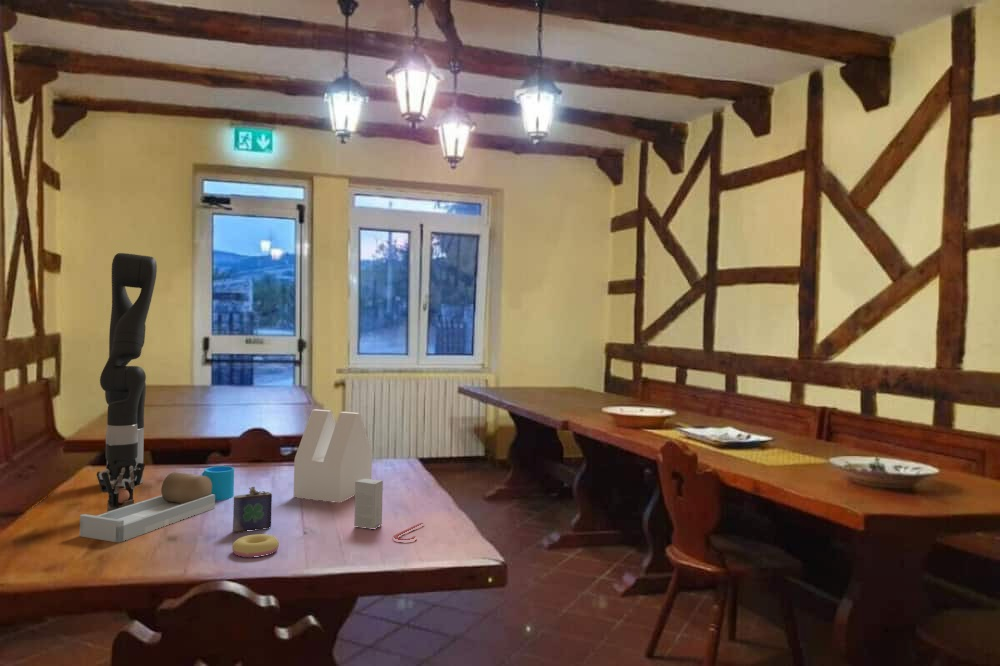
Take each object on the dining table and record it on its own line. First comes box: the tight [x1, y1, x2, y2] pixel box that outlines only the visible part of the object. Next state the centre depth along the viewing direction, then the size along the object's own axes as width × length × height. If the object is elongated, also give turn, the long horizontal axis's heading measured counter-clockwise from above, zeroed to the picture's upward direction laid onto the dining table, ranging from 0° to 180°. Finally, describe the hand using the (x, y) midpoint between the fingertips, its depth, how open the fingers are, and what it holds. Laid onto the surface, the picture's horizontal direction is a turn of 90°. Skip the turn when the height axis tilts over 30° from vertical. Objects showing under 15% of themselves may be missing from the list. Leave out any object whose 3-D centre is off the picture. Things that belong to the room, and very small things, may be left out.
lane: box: [79, 471, 216, 544], centre depth 181 cm, size 12×32×10 cm, turn 162°
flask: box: [232, 486, 273, 533], centre depth 177 cm, size 9×3×11 cm, turn 121°
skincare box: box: [353, 478, 384, 528], centre depth 183 cm, size 6×4×12 cm
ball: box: [118, 487, 130, 504], centre depth 188 cm, size 4×4×4 cm
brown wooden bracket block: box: [106, 499, 135, 513], centre depth 188 cm, size 6×3×3 cm, turn 72°
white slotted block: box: [293, 408, 373, 503], centre depth 215 cm, size 19×15×25 cm
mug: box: [200, 465, 235, 502], centre depth 207 cm, size 12×8×8 cm
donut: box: [231, 533, 280, 558], centre depth 161 cm, size 10×5×9 cm
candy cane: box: [392, 522, 424, 540], centre depth 178 cm, size 6×15×2 cm, turn 155°
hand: (120, 504), depth 188 cm, fingers closed on ball, 4 cm apart
